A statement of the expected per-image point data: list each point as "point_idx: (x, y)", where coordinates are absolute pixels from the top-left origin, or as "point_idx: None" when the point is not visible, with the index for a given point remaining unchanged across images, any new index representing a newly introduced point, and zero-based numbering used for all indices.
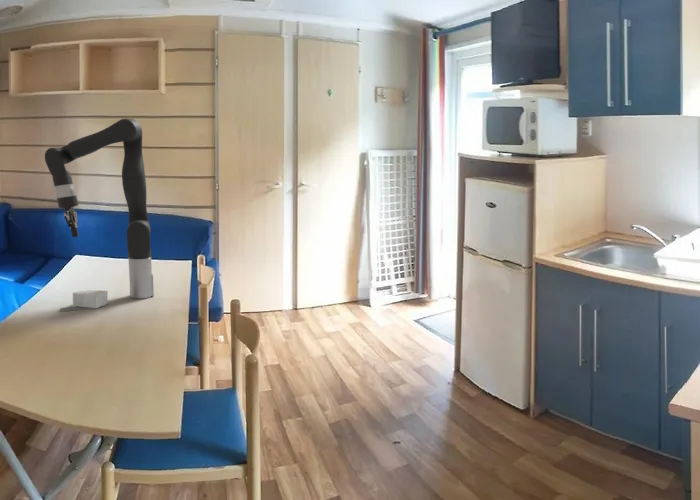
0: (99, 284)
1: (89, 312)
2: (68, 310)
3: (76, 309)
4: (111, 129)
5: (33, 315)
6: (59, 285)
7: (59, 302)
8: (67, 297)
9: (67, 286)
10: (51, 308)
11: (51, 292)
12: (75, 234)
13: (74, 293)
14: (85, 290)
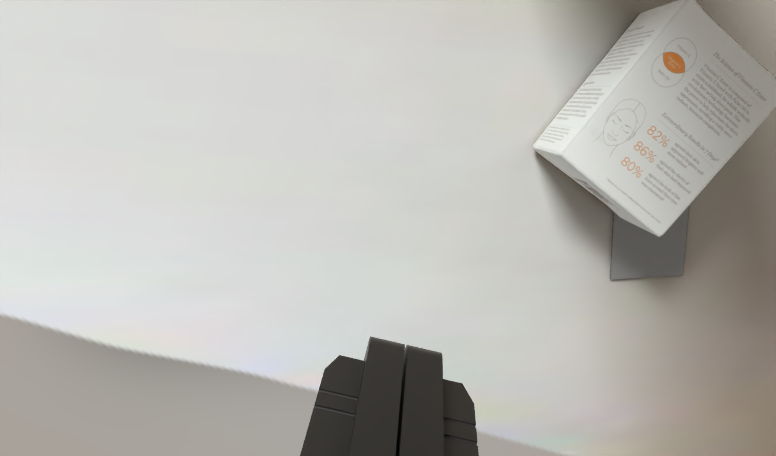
0: (64, 12)
1: (771, 133)
2: (684, 240)
3: None
4: None
5: (675, 396)
6: (33, 277)
7: (475, 281)
8: (375, 237)
9: (75, 230)
10: (585, 320)
11: (215, 322)
12: (469, 414)
13: (669, 225)
14: (621, 151)
